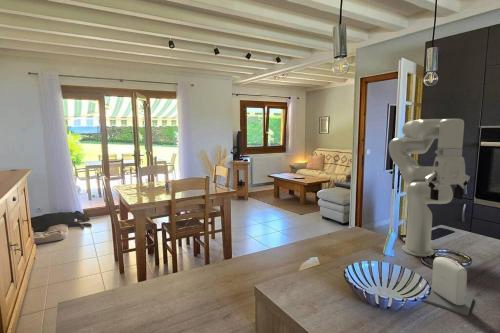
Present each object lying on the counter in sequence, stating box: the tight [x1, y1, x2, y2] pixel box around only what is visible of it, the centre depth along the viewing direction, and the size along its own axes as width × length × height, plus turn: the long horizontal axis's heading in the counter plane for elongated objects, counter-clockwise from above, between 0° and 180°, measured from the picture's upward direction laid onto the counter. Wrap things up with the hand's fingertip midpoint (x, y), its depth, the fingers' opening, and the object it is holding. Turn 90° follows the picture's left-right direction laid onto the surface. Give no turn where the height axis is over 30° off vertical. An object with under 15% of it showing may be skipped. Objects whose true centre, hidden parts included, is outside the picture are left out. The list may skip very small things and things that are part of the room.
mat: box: [423, 284, 474, 317], centre depth 95 cm, size 12×12×1 cm
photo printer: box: [431, 256, 468, 305], centre depth 95 cm, size 10×4×12 cm, turn 11°
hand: (446, 199), depth 111 cm, fingers open, 9 cm apart
